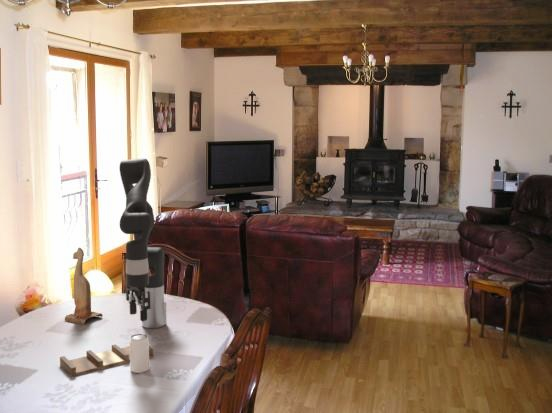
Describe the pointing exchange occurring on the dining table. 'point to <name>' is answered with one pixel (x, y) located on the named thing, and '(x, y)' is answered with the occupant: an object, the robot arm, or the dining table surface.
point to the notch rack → (98, 360)
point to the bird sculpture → (81, 294)
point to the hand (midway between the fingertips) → (138, 317)
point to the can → (139, 353)
